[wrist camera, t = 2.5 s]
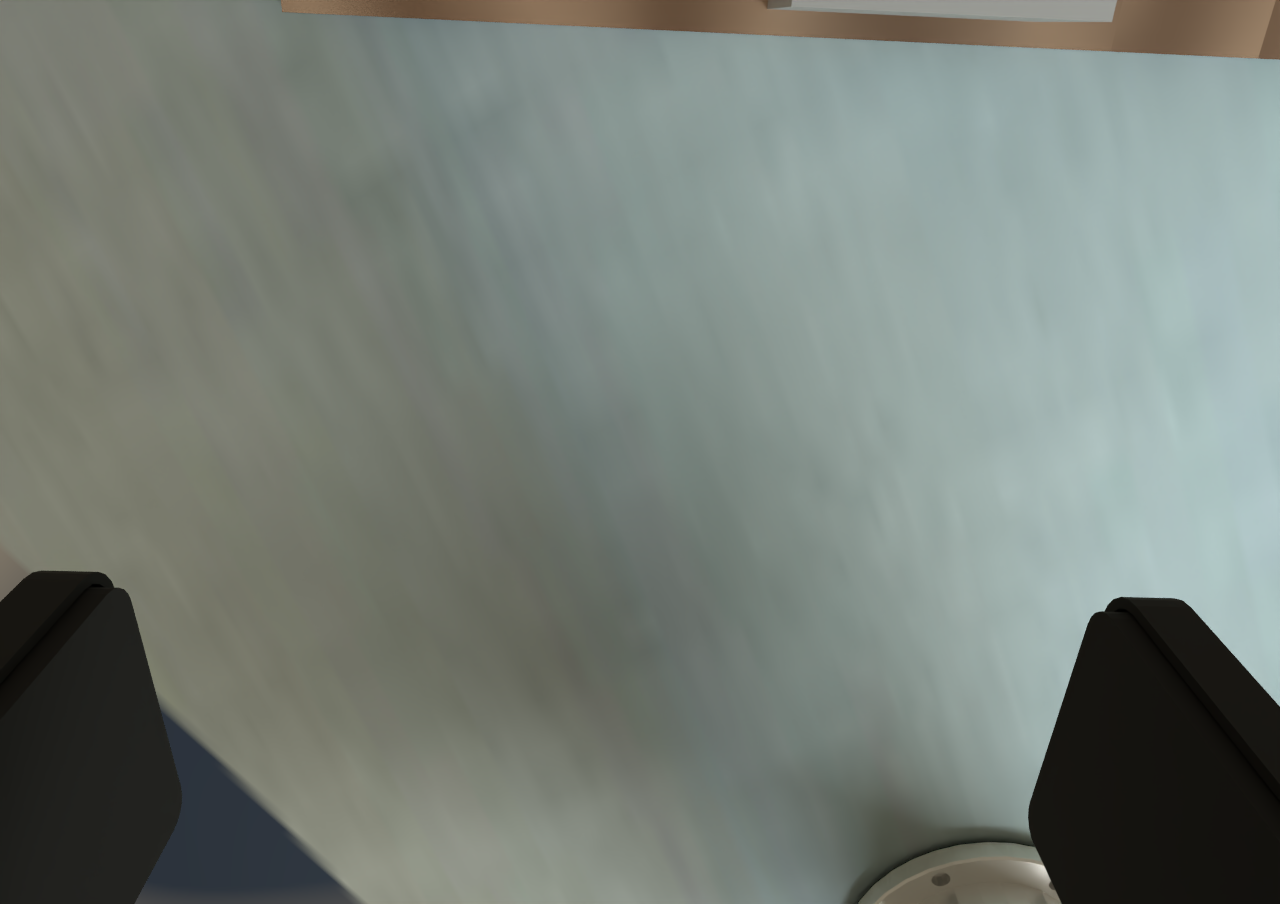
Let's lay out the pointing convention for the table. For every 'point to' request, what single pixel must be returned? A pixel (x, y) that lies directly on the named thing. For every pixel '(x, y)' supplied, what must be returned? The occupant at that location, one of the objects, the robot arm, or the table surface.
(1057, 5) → the bridge tunnel
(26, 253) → the table surface
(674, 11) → the rail board
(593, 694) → the table surface
